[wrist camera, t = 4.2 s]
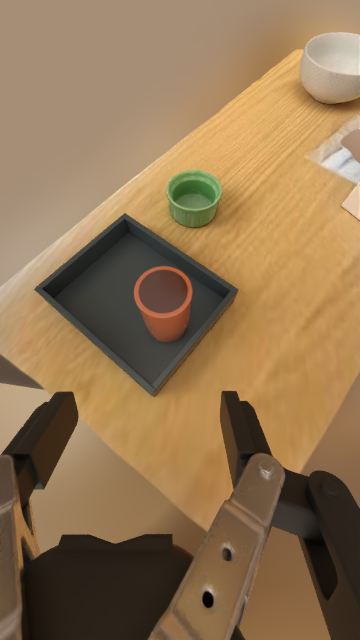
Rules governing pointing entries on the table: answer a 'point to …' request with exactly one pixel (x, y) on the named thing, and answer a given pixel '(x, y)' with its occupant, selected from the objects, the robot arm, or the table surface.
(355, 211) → the medicine bottle
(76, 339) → the table surface
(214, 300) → the tray
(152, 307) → the cup
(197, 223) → the ramekin
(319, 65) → the cereal bowl
